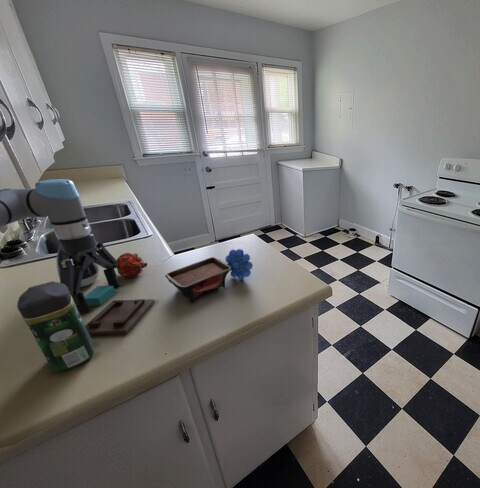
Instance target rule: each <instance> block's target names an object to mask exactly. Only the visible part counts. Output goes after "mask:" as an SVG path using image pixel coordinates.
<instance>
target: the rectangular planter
mask: <svg viewBox="0 0 480 488" xmlns="http://www.w3.org/2000/svg"><path fill="white" fill-rule="evenodd" d="M230 269H231V267H230V266H229V265H228V263H227V262H226V261H224V260H222V259H219V258H218V257H216V256H215V257H214V256H212V257H208V258H205V259H203V260H200V261H197V262H194V263H190V264H188V265H186V266H184V267H180V268H178V269H175V270H172V271H169V272H167V273H166V274H165V275H164V277H165V278H166V279H167V280H168V282H169V284H172V285H173V286H174V287H175V288H176V289H177V290H178V291H179V292H180V293H181V294H182V295H183V296H184V297H185V298H186V299H187V300H188V301H189V302H190V303H191V304H193V303H194V302H195V300H196V299H197V298H198V297H199V296H200V295H201V294H202V293H203V292H209V291H212V290H214V289H218V288H223V289H225V288H226V278H227V275H228V274H229V272H231V271H230Z"/></svg>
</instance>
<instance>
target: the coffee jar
mask: <svg viewBox="0 0 480 488" xmlns="http://www.w3.org/2000/svg"><path fill="white" fill-rule="evenodd" d="M17 309H18V311H19V313H20V315H21V318H22V320H23V321H24V322H25V324H26V326H27V327H28V329H29V331H30V332H31V334H32V336H33V339H34V340H35V341H36V344H37V345H38V346H39V349H40V350H41V352H42V354H43V356H44V358H45V360H46V361H47V363H48V366H49V367H50V368H51V370H52V371H54V372H62V371H66V370H70V369H73V368H75V367H77V366H80V365H82V364H83V363H84V362H86V361H88V360H89V359H90V358H91V357H93V355H94V353H95V344H94V342H93V339H92V338H91V335H89V333H88V331H87V329H86V327H85V325H86V324H85V322H84V320H83V317H82V315H81V313H79V311H78V309H77V307H76V305H75V303H74V300H73V298H72V296H71V294H70V292H69V290H68V287H67V286H66V285H65V284H62V283H60V282H57V281H49V282H45V283H41V284H37V285H33V286H30V287H28V288H27V289H26V290H25V291H24V292H23V293H22V294H21V295H20V296H19V297H18V300H17Z"/></svg>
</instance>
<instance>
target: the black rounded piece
mask: <svg viewBox="0 0 480 488" xmlns="http://www.w3.org/2000/svg"><path fill="white" fill-rule="evenodd" d="M67 259H68V254H67V253H65V252H64V251H63V250H62V248H61V246H60V245H59V248H58V250H57V253H56V271H57V275H58V278H59V280H60V267H59V264H58V262H59V261H60V260H67ZM77 267H78V266H76V268H77ZM99 271H100V268H99V265H98V264H96V263H91V264H90V265H89V266H87V267H86V270H85V271H84V272H83V276H82V281H81V286H80V288H82V287H88V286H89V285H91V284H93V283H95V282H96V281H97V279H98V277H99Z"/></svg>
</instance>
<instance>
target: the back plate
mask: <svg viewBox="0 0 480 488" xmlns="http://www.w3.org/2000/svg"><path fill="white" fill-rule="evenodd" d="M154 303H155V299H154V298H147V299H146V298H145V299H144V298H139V299H137V298H136V299H115V300H112V301H111V302H109V304H107V305H106V306H105V307H103V309H102V310H101V311H100V312H98V314H97V315H95V316H94V317H93V318H92V319H91V320H90V321H88V322H87V323H86V324H84V325H85V327H86V329H87V331H88V333H89V335H90V336H104V335H105V336H107V335H128V334H129V333H130V331H131V330H132V329H133V328H134V327H135V326H136V324H138V322H139V321H140V320H141V319H142V318H143V316H145V314H146V313H147V312H148V311H149V310H150V308H151V307H152V306H153V305H154Z"/></svg>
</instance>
